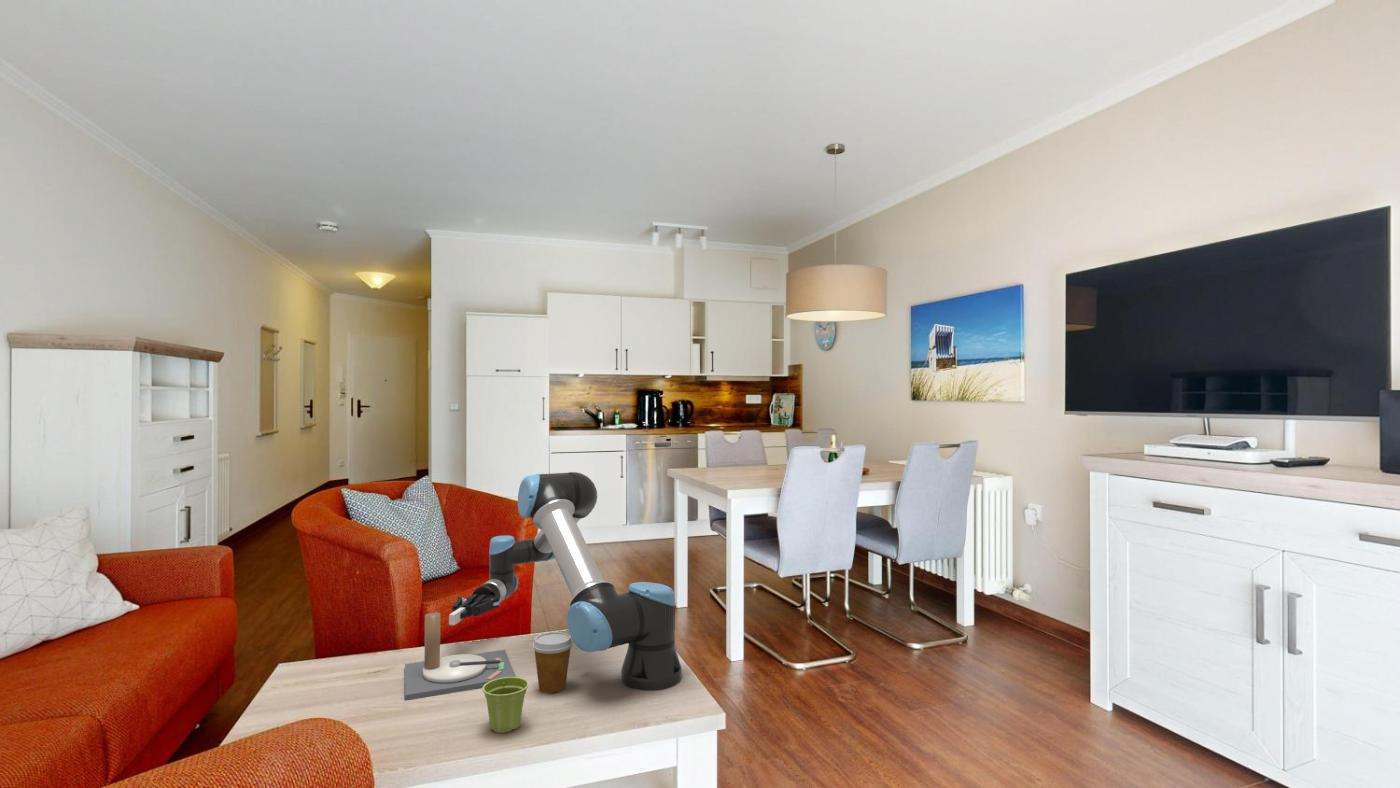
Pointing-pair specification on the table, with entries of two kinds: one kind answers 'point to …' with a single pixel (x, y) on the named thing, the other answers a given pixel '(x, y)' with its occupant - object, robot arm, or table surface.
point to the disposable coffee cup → (552, 660)
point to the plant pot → (505, 702)
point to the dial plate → (423, 688)
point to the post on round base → (447, 658)
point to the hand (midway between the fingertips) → (451, 619)
